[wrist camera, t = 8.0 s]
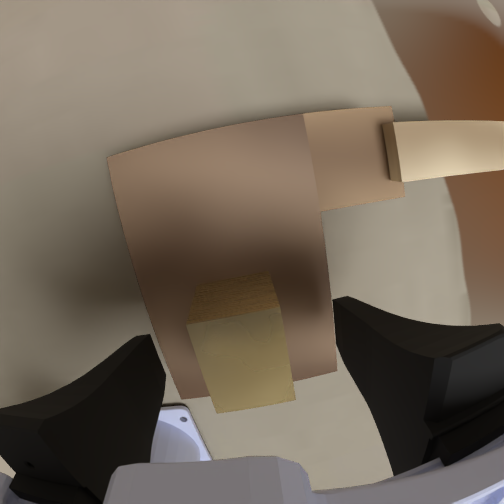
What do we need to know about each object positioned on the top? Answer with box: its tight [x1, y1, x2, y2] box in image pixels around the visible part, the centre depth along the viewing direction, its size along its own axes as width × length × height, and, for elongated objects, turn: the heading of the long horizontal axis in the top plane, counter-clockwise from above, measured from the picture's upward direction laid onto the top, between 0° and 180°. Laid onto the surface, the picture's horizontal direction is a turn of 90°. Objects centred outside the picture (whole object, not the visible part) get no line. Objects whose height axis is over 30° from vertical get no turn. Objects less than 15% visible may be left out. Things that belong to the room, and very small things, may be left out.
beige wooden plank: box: [382, 120, 504, 182], centre depth 11 cm, size 2×10×1 cm, turn 101°
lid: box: [107, 114, 337, 413], centre depth 12 cm, size 12×8×4 cm, turn 11°
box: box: [303, 106, 405, 212], centre depth 15 cm, size 12×12×3 cm
